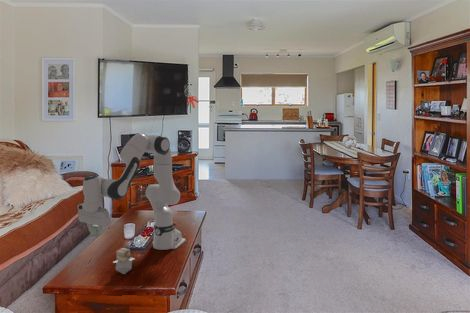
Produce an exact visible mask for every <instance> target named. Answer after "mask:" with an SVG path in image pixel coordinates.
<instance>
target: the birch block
mask: <svg viewBox="0 0 470 313" xmlns="http://www.w3.org/2000/svg"><path fill="white" fill-rule="evenodd" d="M115 254H116V260H119V261H123V262H124V261H126V260H128V259H130V257H131V248H125V247H122V248H119V249H117V250H116V252H115Z"/></svg>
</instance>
